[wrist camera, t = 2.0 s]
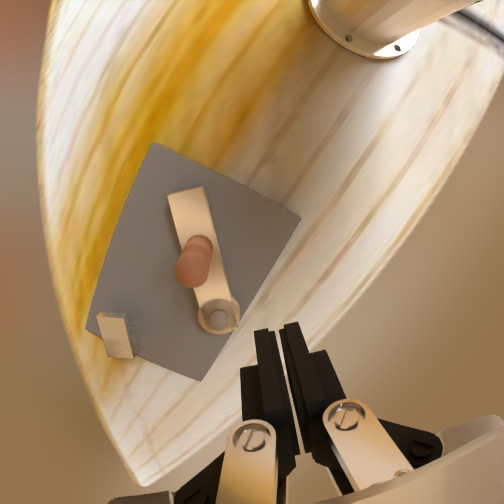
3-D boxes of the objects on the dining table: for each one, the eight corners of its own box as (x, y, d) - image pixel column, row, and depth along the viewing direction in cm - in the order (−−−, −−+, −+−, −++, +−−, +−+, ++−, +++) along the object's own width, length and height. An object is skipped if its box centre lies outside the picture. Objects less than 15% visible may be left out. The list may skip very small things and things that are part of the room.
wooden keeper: (133, 302, 29) (123, 318, 26) (141, 341, 30) (133, 359, 27) (107, 301, 29) (96, 316, 26) (116, 339, 30) (108, 356, 27)
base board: (156, 142, 25) (152, 142, 24) (297, 215, 28) (301, 218, 27) (90, 322, 31) (85, 329, 30) (201, 373, 34) (201, 381, 33)
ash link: (243, 321, 30) (246, 364, 23) (205, 328, 30) (200, 371, 24) (209, 183, 25) (201, 195, 19) (165, 194, 25) (143, 210, 19)
